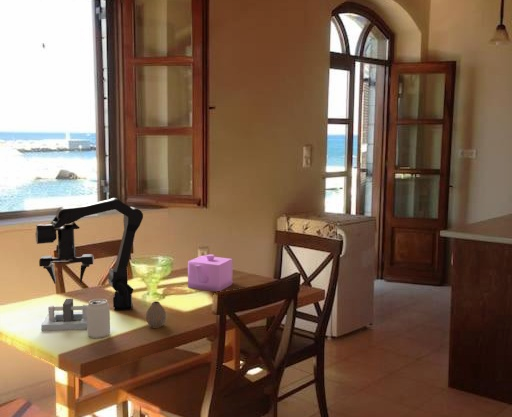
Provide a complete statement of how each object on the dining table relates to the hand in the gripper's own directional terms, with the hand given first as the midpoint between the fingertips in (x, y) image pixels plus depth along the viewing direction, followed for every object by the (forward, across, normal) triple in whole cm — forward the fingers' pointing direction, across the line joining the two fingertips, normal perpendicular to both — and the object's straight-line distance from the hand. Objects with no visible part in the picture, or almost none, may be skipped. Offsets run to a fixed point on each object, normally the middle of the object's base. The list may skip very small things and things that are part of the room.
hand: (68, 282), depth 223 cm
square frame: (+12, -1, +9) cm, 16 cm away
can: (+13, -12, +23) cm, 29 cm away
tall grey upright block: (+12, -1, +10) cm, 15 cm away
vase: (+13, -32, +17) cm, 38 cm away
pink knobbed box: (+13, -56, -31) cm, 65 cm away
